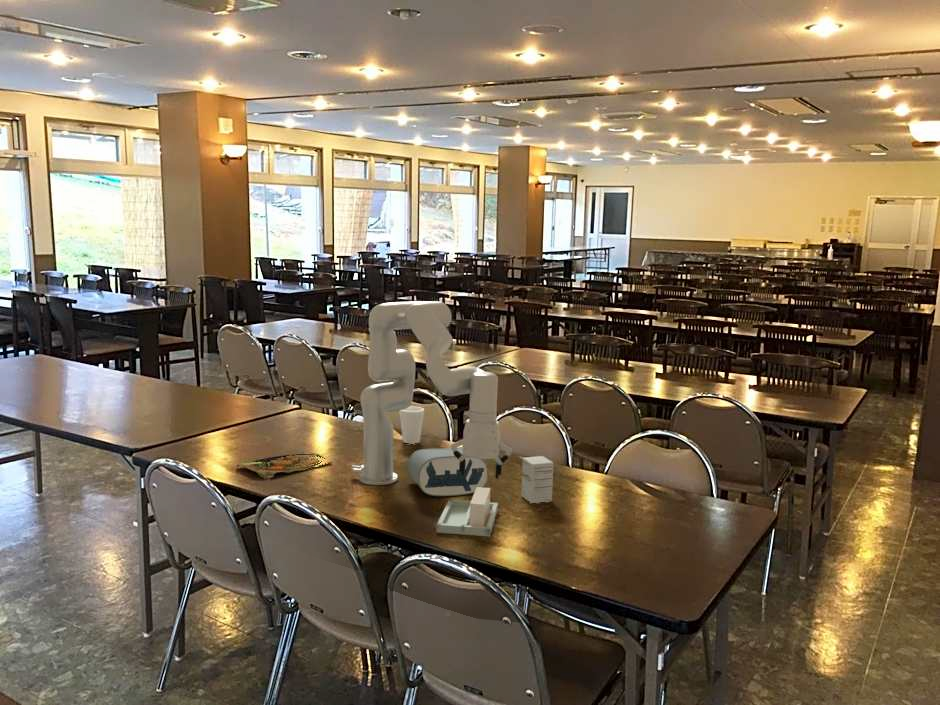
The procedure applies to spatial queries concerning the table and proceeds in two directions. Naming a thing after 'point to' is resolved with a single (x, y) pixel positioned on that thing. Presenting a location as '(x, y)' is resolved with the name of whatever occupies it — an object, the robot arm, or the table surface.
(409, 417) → the foam cup
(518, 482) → the table surface
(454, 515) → the divided serving tray
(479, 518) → the upright beige block
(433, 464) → the pencil case
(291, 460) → the prepared meal
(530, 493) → the stacked block tower
